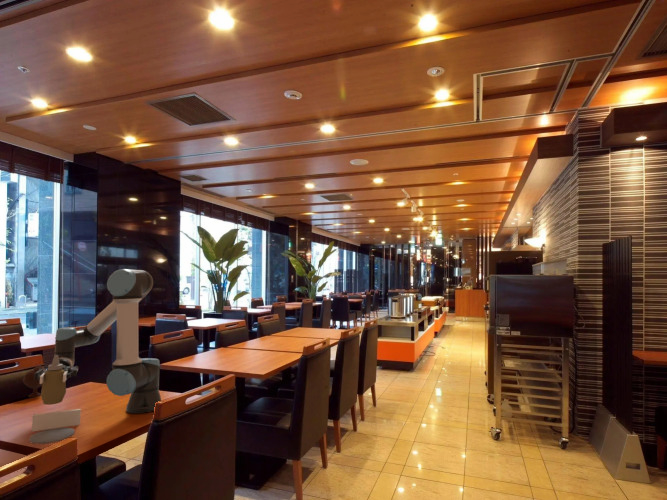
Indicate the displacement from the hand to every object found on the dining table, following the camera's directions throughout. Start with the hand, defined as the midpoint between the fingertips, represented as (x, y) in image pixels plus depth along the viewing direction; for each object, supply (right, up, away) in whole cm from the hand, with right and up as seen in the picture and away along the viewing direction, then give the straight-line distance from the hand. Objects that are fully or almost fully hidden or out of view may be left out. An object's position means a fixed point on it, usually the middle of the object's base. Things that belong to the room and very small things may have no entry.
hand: (52, 379), depth 150 cm
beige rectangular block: (-7, -24, +12) cm, 27 cm away
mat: (-2, -23, +2) cm, 23 cm away
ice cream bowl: (-50, -28, +58) cm, 81 cm away
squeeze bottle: (-3, -11, +4) cm, 11 cm away
